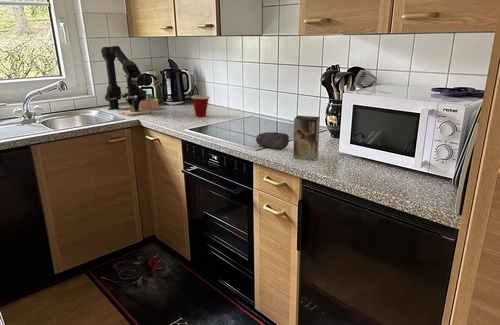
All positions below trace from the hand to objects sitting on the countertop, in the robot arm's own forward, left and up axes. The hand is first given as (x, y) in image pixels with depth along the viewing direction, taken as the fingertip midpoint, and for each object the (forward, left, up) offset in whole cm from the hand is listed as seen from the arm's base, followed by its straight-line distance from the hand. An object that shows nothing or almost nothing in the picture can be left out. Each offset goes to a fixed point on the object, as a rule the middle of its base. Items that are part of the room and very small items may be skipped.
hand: (134, 110), depth 234 cm
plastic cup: (+35, +24, -2) cm, 43 cm away
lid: (0, 0, -2) cm, 2 cm away
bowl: (-7, +14, -2) cm, 16 cm away
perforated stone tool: (+110, +2, -3) cm, 110 cm away
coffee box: (+129, +1, -3) cm, 129 cm away
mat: (0, 0, -2) cm, 2 cm away
